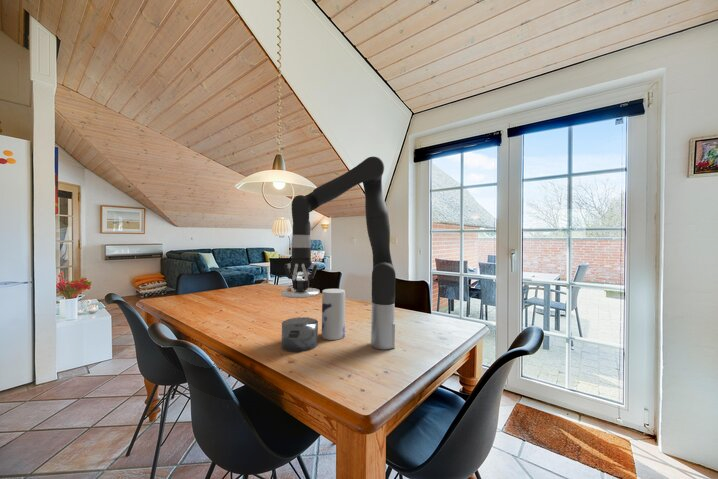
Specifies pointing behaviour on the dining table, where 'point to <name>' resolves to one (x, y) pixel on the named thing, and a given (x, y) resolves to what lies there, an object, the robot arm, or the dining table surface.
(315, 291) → the lid
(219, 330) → the dining table surface
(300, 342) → the dark grey rounded piece
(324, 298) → the container
